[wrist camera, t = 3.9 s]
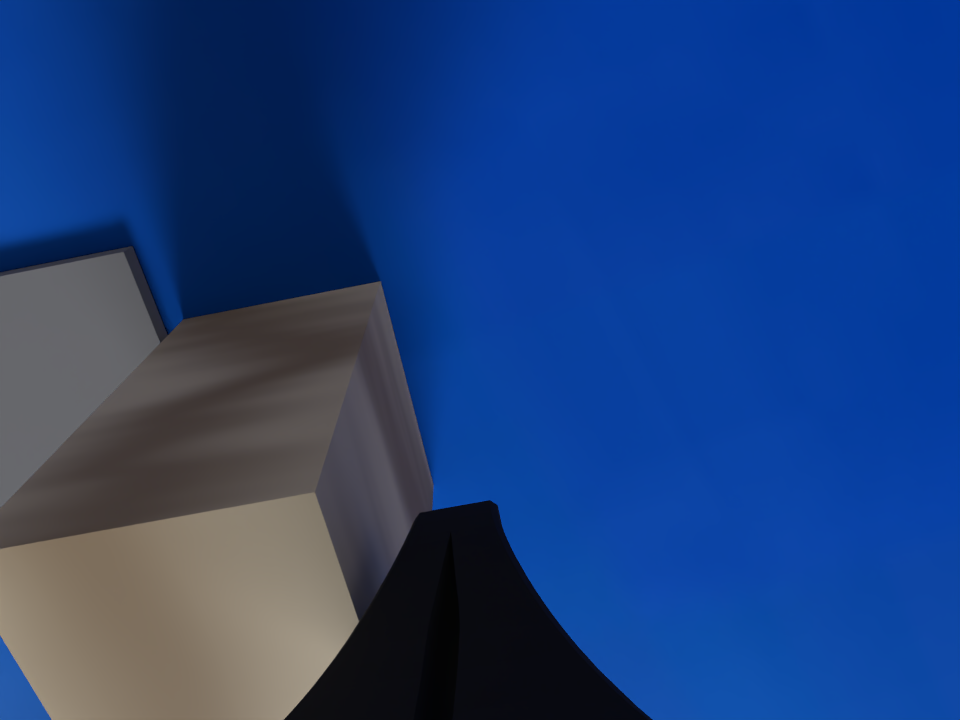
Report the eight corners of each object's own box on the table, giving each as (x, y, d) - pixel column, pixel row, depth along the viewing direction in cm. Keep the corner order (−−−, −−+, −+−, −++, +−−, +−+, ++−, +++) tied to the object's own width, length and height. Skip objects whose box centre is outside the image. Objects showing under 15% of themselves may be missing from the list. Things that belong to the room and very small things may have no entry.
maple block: (380, 281, 18) (315, 492, 10) (433, 484, 20) (417, 793, 12) (183, 319, 18) (-47, 556, 10) (259, 515, 20) (125, 839, 12)
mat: (132, 246, 17) (123, 251, 17) (262, 575, 21) (259, 587, 21) (-167, 305, 18) (-183, 312, 17) (17, 618, 22) (8, 630, 21)
